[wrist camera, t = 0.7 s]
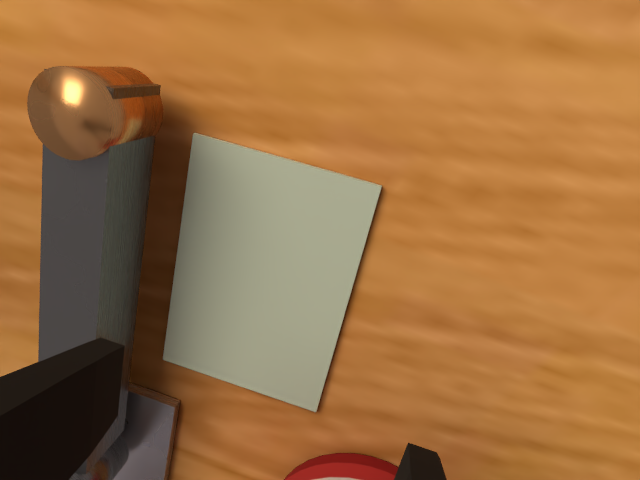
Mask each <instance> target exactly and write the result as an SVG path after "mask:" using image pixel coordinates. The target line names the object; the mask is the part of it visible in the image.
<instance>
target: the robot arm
mask: <svg viewBox="0 0 640 480" xmlns="http://www.w3.org/2000/svg"><path fill="white" fill-rule="evenodd" d="M124 348H125V346H124V345H121V344H118V343H115V342H112V341H109V340H107V339H104V338H98V339H95V340H92V341H89V342H87V343H84V344H82V345H79V346H77V347H74V348H72V349H69V350H67V351H64V352H62V353H59V354H57V355H55V356H52V357H50V358H47V359H45V360H42V361H40V362H37V363H35V364H32V365H30V366H27V367H25V368H22V369H19V370H17V371H14V372H12V373H9V374H7V375H4V376H2V377H0V480H69V479H70V478H71V476H72V475H73V474H74V473H75V472H76V471H77V470H78V469H79V467H80V466H81V465H82V464H83V463H84V462H85V461H86V459H87V458H88V457H89V456H90V455H91V453H92V452H93V451H94V449H95V448H96V446H97V445H98V444H99V442H100V441H101V440H102V438H103V437H104V435H105V434H106V432H107V431H108V429H109V428H110V427H111V425H112V424H113V422H114V421H115V419H116V418H117V416H118V409H119V399H120V389H121V379H122V369H123V358H124ZM394 480H447V479H446V476H445V473H444V470H443V467H442V464H441V461H440V458H439V456H438V454H437V452H434V451H431V450H428V449H425V448H422V447H419V446H416V445H413V444H410V443H408V445H407V447H406V450H405V452H404V455H403V458H402V460H401V463H400V465H399V468H398V470H397V473H396V475H395V478H394Z"/></svg>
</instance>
